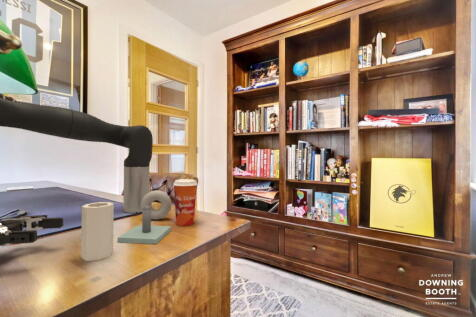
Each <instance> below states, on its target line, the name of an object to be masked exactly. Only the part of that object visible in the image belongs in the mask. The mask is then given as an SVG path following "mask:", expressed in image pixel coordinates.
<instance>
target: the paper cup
mask: <svg viewBox="0 0 476 317" xmlns="http://www.w3.org/2000/svg"><path fill="white" fill-rule="evenodd" d="M198 185H199V183H198V181H197V179H191V178H189V179H188V178H186V179H185V178H181V179H175V181H174V183H173V188H174V191H173V192H174V207H175V208H174V210H175V211H174V212H175V213H174V214H175V224H176V226H179V227H189V226H192V225H194V223H195V213H196V199H197V188H198V187H197V186H198Z"/></svg>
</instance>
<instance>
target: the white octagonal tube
mask: <svg viewBox="0 0 476 317" xmlns="http://www.w3.org/2000/svg"><path fill="white" fill-rule="evenodd" d="M114 205H115V204H114V203H113V202H110V201H104V202H103V201H102V202H101V201H100V202H97V201H96V202H91V203H86V204H84V205H82V206H81V249H80V250H81V255H80V256H81V259H82V260H83V261H85V262H91V261H92V262H93V261H100V260H103V259H106V258H108V257H111V255H112V254H113V253H114V212H115V211H114V209H115V208H114Z"/></svg>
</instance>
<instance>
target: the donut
mask: <svg viewBox="0 0 476 317" xmlns="http://www.w3.org/2000/svg"><path fill="white" fill-rule="evenodd" d="M154 201H158V202H160V207H159V208H158V209H156V208H153V206H152V205H153V202H154ZM144 206H150V208H151V220H153V221H154V220H156V221H157V220H162V219H163V218H165V217H166V216H168V215H169V213H170V212H171V210H172V199H171V197H170V196H169V195H168V194H167V193H166V192H164V191H162V190H158V189H157V190H151V191H149V193H147V194H146V195H145V196H144V198H143V199H142V202H141V209H142V210H143V207H144Z"/></svg>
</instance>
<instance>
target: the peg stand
mask: <svg viewBox="0 0 476 317" xmlns="http://www.w3.org/2000/svg"><path fill="white" fill-rule="evenodd" d="M141 214H142V216H141V217H142V218H141V219H142V220H141V224H138V225H136V226H134V227H133V228H131V229H130V230H127V231H126V232H124V233H122V234H121V235H119V236H117V241H116V242H117V243H120V244H121V243H122V244H123V243H125V244H127V243H128V244H142V245H143V244H144V245H145V244H146V245H157V244H158V243H160V241H162V239H164V238H165V237H166V236H167V235H168V234H169V233H171V231H172V226H171V225H170V226H169V225H152V219H151V208H150V206H144V207H143V210H142V212H141Z"/></svg>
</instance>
